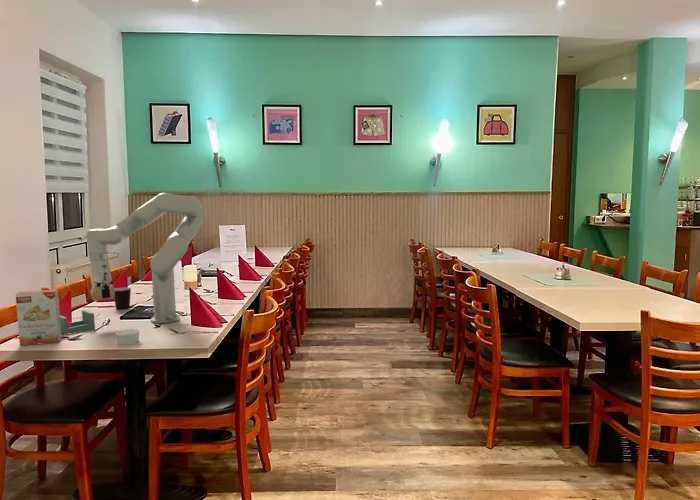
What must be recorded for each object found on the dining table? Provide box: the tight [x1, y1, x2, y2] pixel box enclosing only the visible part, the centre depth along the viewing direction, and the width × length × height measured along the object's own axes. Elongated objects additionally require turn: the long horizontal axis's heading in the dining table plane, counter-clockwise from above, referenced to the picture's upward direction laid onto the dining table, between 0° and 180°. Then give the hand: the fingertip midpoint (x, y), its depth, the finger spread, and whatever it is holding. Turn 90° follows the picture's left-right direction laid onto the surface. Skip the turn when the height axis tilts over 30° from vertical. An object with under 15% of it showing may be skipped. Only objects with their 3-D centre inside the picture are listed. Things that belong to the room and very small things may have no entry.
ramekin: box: [114, 328, 140, 346], centre depth 218 cm, size 9×9×4 cm
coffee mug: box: [113, 287, 132, 311], centre depth 281 cm, size 12×9×10 cm
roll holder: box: [60, 309, 96, 335], centre depth 238 cm, size 10×12×7 cm
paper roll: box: [90, 284, 115, 302], centre depth 244 cm, size 8×6×6 cm
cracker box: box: [15, 289, 62, 346], centre depth 219 cm, size 14×6×21 cm, turn 106°
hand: (103, 296), depth 244 cm, fingers closed on paper roll, 6 cm apart
